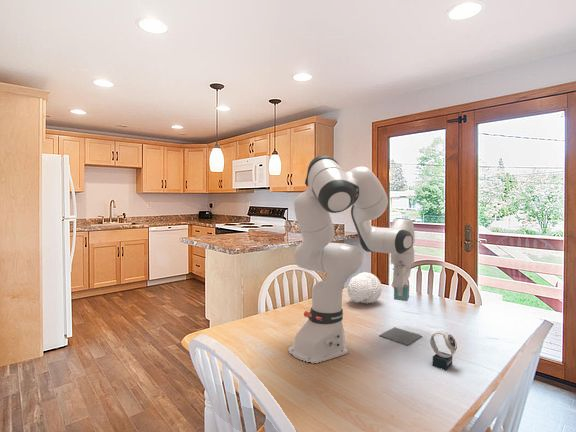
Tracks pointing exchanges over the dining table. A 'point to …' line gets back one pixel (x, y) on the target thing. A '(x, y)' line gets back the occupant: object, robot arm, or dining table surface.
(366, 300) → the cauliflower
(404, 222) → the robot arm
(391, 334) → the pad
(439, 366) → the watch
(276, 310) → the dining table surface
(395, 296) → the letter cube
